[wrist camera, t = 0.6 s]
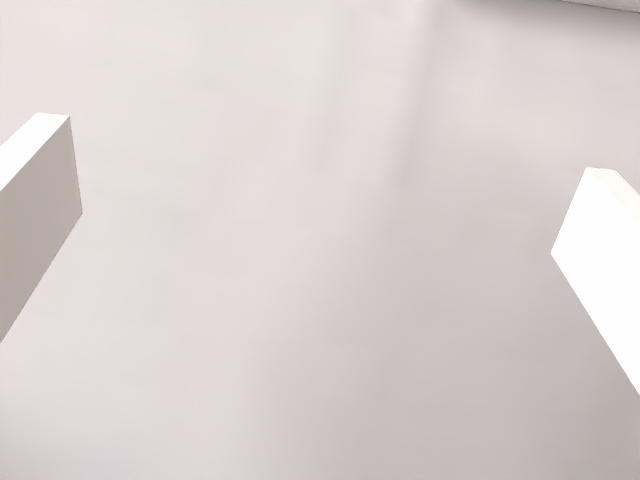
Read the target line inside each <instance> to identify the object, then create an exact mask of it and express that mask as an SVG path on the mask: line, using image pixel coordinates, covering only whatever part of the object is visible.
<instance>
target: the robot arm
mask: <svg viewBox="0 0 640 480" xmlns="http://www.w3.org/2000/svg"><path fill="white" fill-rule="evenodd" d="M81 215H82V205H81V198H80V190H79V183H78V176H77V168H76V161H75V153H74V146H73V138H72V131H71V123H70V116H66V115H56V114H46V113H36V114H35V115H34V116H33V117H32V118H31V119H29V120H28V121H27V122H26V123H25V124H24V125H23V126H22V127H21V128H20V129H19V130H18V131H17V132H16V133H15V134H14V135H13V136H11V137H10V138H9V139H8V140H7V141H6V142H5V143H4V144H3V145H2V146H1V147H0V343H1V342H2V340H3V339H4V337H5V336H6V334H7V332H8V331H9V329H10V328H11V326H12V324H13V323H14V321H15V320H16V318H17V316H18V315H19V313H20V312H21V310H22V308H23V307H24V305H25V304H26V302H27V300H28V299H29V297H30V296H31V294H32V293H33V291H34V289H35V288H36V286H37V285H38V283H39V281H40V280H41V278H42V277H43V275H44V273H45V272H46V270H47V269H48V267H49V265H50V264H51V262H52V261H53V259H54V258H55V256H56V254H57V253H58V251H59V250H60V248H61V246H62V245H63V243H64V242H65V240H66V238H67V237H68V235H69V234H70V232H71V230H72V229H73V227H74V226H75V224H76V223H77V221H78V219H79V218H80V216H81ZM551 254H552V256H553V257H554V259H555V261H556V262H557V264H558V265H559V267H560V269H561V270H562V272H563V273H564V275H565V277H566V278H567V280H568V281H569V283H570V285H571V286H572V288H573V289H574V291H575V293H576V294H577V296H578V297H579V299H580V301H581V302H582V304H583V305H584V307H585V309H586V310H587V312H588V313H589V315H590V317H591V318H592V320H593V321H594V323H595V325H596V326H597V328H598V329H599V331H600V333H601V334H602V336H603V337H604V339H605V341H606V342H607V344H608V345H609V347H610V349H611V350H612V352H613V353H614V355H615V357H616V358H617V360H618V361H619V363H620V365H621V366H622V368H623V369H624V371H625V373H626V374H627V376H628V377H629V379H630V381H631V382H632V384H633V385H634V387H635V389H636V390H637V392H638V393H639V395H640V195H639V194H638V193H637V192H636V191H635V190H634V189H633V188H632V187H631V186H630V185H629V184H628V183H627V182H626V181H625V180H624V179H623V178H622V177H621V176H620V175H619V174H618V173H617V172H616V171H615V170H610V169H600V168H590V167H586V170H585V172H584V174H583V177H582V179H581V182H580V184H579V186H578V189H577V191H576V194H575V196H574V198H573V201H572V203H571V206H570V208H569V210H568V213H567V215H566V217H565V220H564V222H563V225H562V227H561V229H560V232H559V234H558V237H557V239H556V241H555V244H554V246H553V249H552V251H551Z"/></svg>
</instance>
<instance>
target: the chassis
mask: <svg viewBox="0 0 640 480" xmlns="http://www.w3.org/2000/svg"><path fill="white" fill-rule="evenodd" d="M560 1H567V2H573V3H580V4H586V5H593V6H599V7H606V8H612V9H619V10H625V11H631V12H638V13H640V0H560Z"/></svg>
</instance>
